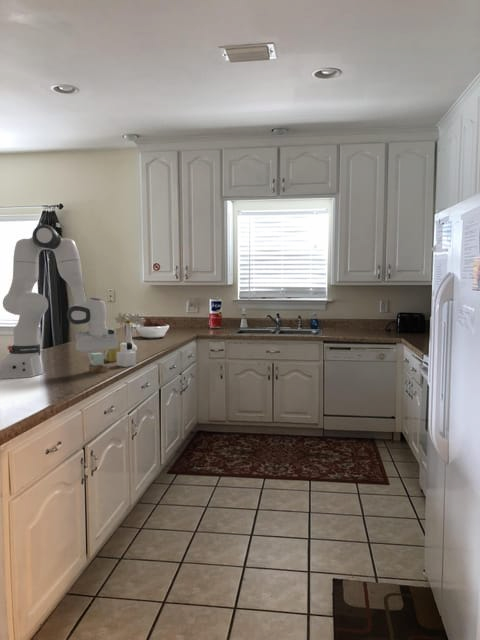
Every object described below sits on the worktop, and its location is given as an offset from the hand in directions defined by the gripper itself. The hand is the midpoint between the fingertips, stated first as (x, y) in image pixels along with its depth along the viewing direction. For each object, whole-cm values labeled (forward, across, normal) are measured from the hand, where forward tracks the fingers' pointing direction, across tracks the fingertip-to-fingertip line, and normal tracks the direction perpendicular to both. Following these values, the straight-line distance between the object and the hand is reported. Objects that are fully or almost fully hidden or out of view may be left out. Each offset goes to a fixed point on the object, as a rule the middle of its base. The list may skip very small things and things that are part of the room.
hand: (97, 359), depth 250 cm
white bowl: (+6, +74, +116) cm, 138 cm away
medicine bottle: (+6, +18, +10) cm, 21 cm away
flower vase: (+6, +32, +45) cm, 56 cm away
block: (+6, 0, 0) cm, 6 cm away
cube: (+2, 0, +1) cm, 3 cm away
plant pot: (+6, +16, +28) cm, 33 cm away
